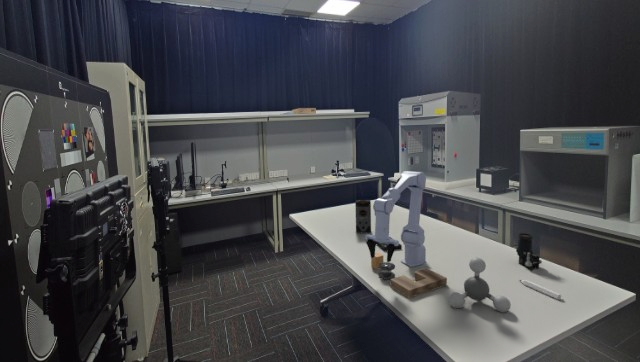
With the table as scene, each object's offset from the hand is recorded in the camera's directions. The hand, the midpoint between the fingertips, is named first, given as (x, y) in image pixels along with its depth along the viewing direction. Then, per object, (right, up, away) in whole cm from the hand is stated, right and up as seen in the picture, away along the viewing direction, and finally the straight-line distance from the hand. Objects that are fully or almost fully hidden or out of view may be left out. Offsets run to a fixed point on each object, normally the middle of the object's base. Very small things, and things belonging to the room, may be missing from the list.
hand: (380, 259), depth 137 cm
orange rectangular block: (+1, -8, +16) cm, 18 cm away
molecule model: (+33, -12, -19) cm, 40 cm away
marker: (+59, -10, -10) cm, 61 cm away
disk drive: (+12, -4, +44) cm, 45 cm away
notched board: (+15, -10, -3) cm, 18 cm away
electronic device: (+2, +1, +69) cm, 69 cm away
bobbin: (+4, -9, +6) cm, 11 cm away
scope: (+69, -6, +12) cm, 70 cm away
